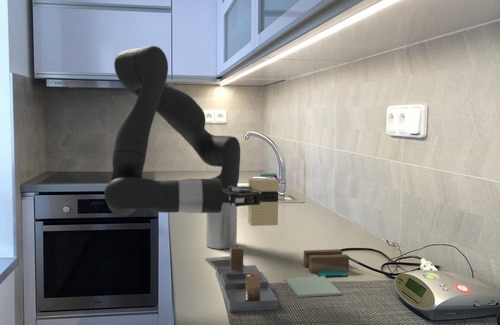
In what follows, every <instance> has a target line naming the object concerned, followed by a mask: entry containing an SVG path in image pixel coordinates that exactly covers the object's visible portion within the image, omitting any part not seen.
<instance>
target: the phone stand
mask: <svg viewBox="0 0 500 325" xmlns="http://www.w3.org/2000/svg"><path fill="white" fill-rule="evenodd" d="M349 260H350V255H348V254H347V253H346V254H343V251H342V250H341V249H340V248H339V249H336V248H334V249H311V250H305V249H304V250H303V263H302V264H303V267H305V268H308V272H310V274H316V272H317V271H344V272H345V273H346V272H350V271H349V269H350V267H349V266H350V261H349Z"/></svg>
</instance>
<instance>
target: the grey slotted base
mask: <svg viewBox="0 0 500 325" xmlns="http://www.w3.org/2000/svg"><path fill="white" fill-rule="evenodd" d="M229 256H230V266H222V267H216V270H215V276H216V280H217V282H218V285H219V287H220V290H221V292H222V295H223V297H224V301H225V302H226V306H227V310H228V312H229V313H236V312H237V313H239V312H241V313H242V312H257V311H274V310H275V311H277V310H278V311H279V299H278V298H277V296H276V294H275V293H274V291H273V290H272V288H271V287H270V285H269V280H267V278H266V276H265V274H264V273H263V272H262V271H260V270H259V269H258V267H257V265H255V264H253V265H250V264H249V265H245V266H243V264H244V247H243V246H235V247H230V248H229Z"/></svg>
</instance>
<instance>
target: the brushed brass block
mask: <svg viewBox="0 0 500 325" xmlns="http://www.w3.org/2000/svg"><path fill="white" fill-rule="evenodd" d="M279 185H280V182H279V179H276V178H248V187H249V189H251V191H261V192H278V193H279ZM251 200H255V196H251ZM247 206H248V210H247V211H248V215H247V217H248V219H247V223H248V224H249V225H250V226H251V227H256V226H257V227H258V226H259V227H260V226H265V227H266V226H278V221H279V200H278V201H277V202H261V203H260V204H259V205H247Z"/></svg>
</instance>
